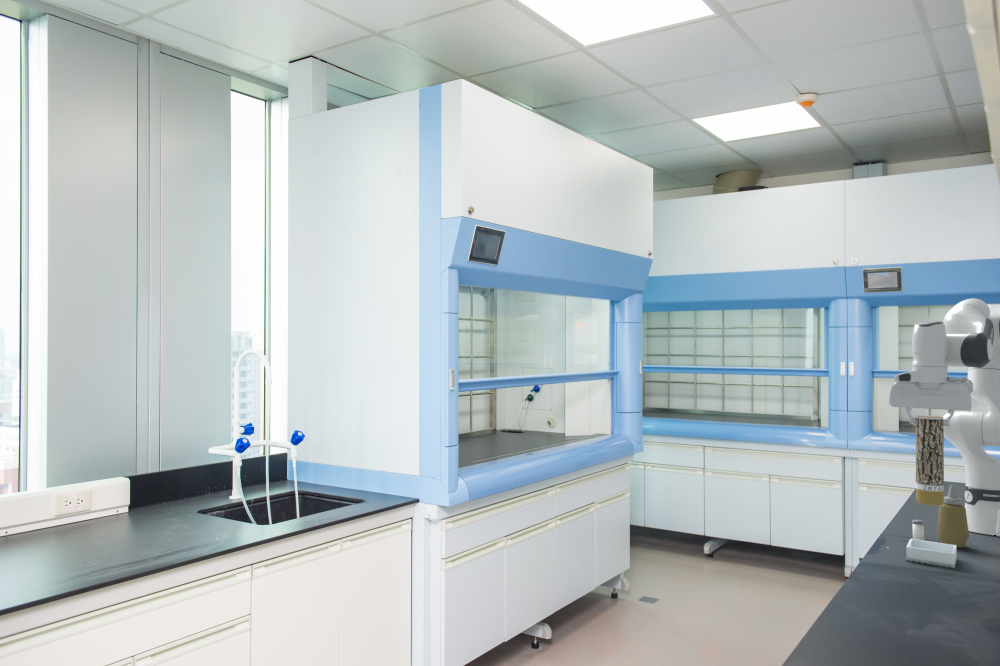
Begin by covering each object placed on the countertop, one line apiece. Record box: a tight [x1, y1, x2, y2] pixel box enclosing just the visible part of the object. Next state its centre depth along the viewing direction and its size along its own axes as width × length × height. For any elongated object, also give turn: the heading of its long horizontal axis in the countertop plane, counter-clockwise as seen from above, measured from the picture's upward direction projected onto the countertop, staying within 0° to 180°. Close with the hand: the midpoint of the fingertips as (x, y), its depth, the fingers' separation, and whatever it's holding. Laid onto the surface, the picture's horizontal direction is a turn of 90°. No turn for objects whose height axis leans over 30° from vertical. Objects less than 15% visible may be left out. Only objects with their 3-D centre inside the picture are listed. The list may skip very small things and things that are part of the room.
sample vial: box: [911, 519, 925, 541], centre depth 212 cm, size 3×3×6 cm
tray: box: [905, 538, 958, 569], centre depth 191 cm, size 11×11×4 cm
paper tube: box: [915, 414, 945, 507], centre depth 197 cm, size 7×7×25 cm
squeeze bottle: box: [936, 485, 970, 549], centre depth 207 cm, size 8×8×18 cm
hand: (929, 424), depth 197 cm, fingers closed on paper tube, 7 cm apart
